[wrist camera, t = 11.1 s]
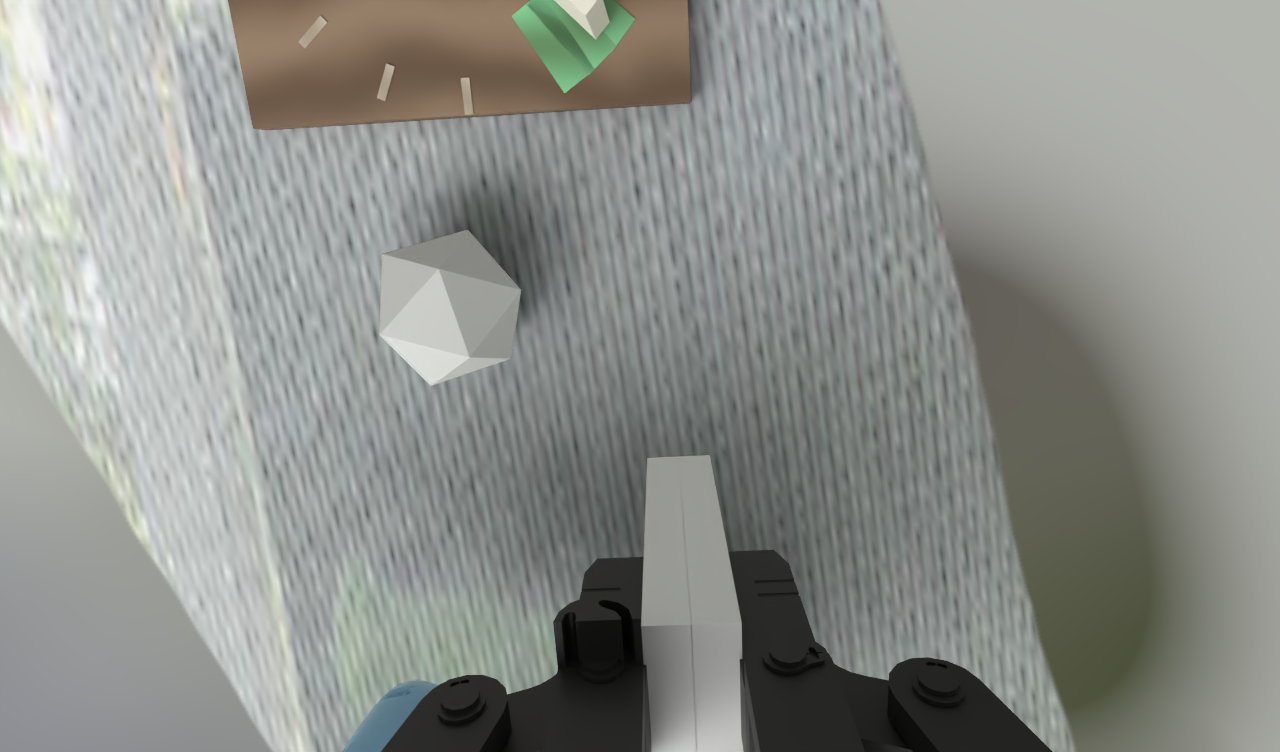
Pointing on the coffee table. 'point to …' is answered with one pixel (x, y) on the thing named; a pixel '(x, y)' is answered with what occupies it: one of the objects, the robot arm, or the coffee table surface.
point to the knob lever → (587, 14)
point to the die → (447, 307)
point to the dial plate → (453, 59)
